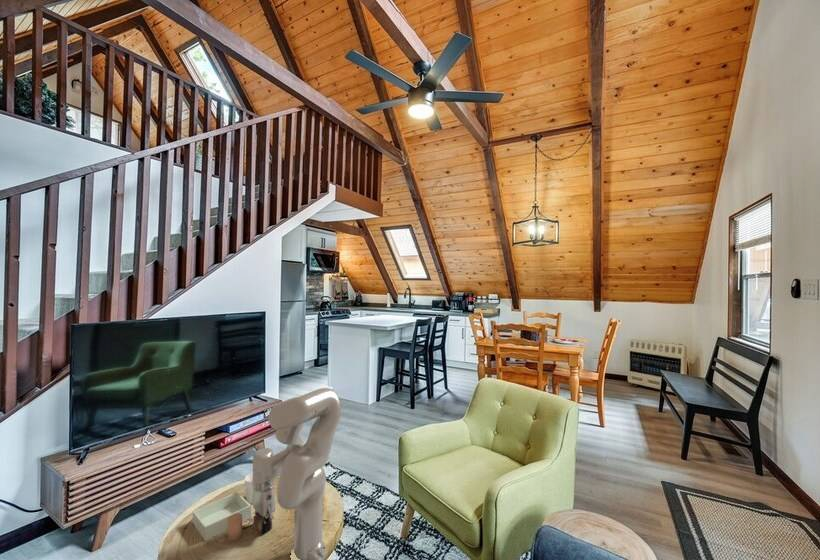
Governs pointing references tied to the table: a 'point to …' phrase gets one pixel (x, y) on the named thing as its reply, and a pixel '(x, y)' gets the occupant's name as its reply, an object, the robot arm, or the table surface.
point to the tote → (220, 515)
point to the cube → (259, 523)
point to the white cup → (249, 488)
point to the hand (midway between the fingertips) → (262, 527)
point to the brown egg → (234, 526)
